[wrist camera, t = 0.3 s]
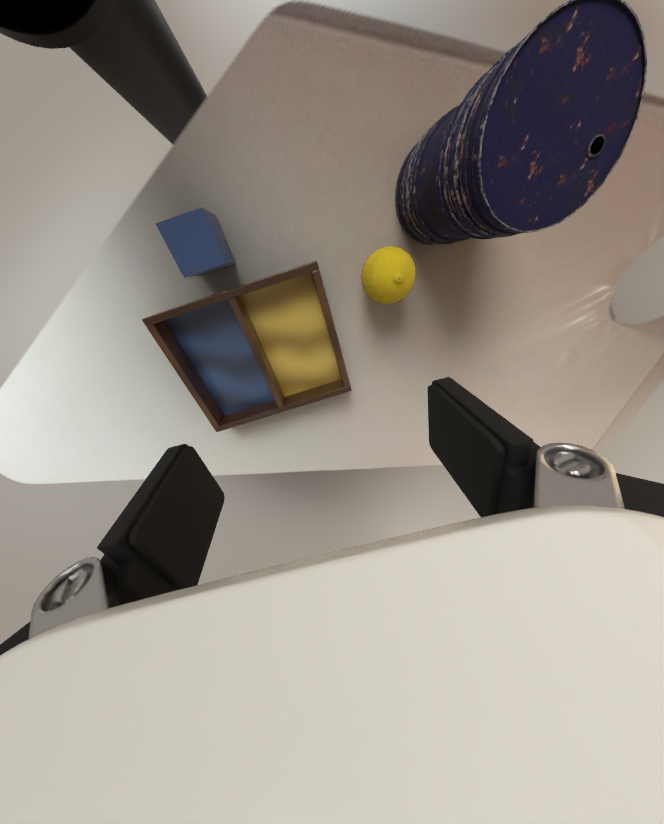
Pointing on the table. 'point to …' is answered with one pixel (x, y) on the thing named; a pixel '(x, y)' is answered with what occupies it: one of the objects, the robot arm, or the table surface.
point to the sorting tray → (255, 347)
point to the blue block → (196, 242)
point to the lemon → (388, 275)
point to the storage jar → (530, 130)
